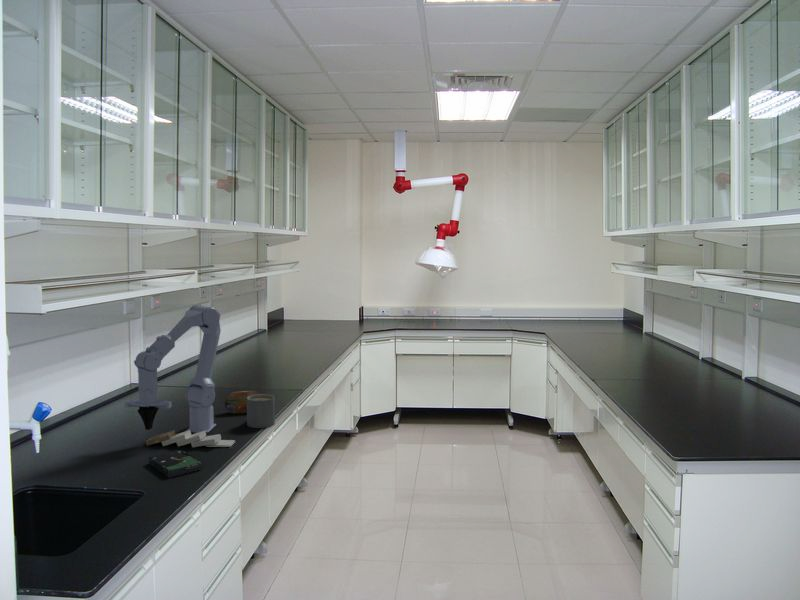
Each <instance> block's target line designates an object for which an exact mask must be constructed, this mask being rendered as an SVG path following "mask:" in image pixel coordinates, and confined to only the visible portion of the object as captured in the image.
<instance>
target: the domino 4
mask: <svg viewBox="0 0 800 600" xmlns="http://www.w3.org/2000/svg"><path fill="white" fill-rule="evenodd" d="M234 443H235V444H236V440H235V439H234V440H233V439H220V440H219V441H218V442H217V443H215V444H211V445H205V447H231V446H232V445H233V444H234ZM235 444H234V445H235ZM234 445H233V446H234ZM233 446H232V447H233ZM232 447H231V448H232Z"/></svg>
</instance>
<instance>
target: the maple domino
mask: <svg viewBox="0 0 800 600" xmlns="http://www.w3.org/2000/svg"><path fill="white" fill-rule="evenodd" d="M176 434H177V433H176V431H175V429H173V430H172V429H171V430H169V431H165V432H163V433H160V434H156V435H152V436H150V437H149V438H148V439H147V440H146V441H145V444H146V446H150V445H154V444H159V443H162V441H165V440H169V439H171V438H172V437H173V436H175V435H176Z"/></svg>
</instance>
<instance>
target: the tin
mask: <svg viewBox="0 0 800 600" xmlns="http://www.w3.org/2000/svg"><path fill="white" fill-rule="evenodd" d="M256 394H262V393H261V392H259V391H257V390H244V391H243V390H241V391H232V392H230V393H229V394H227V395H226V396H225V398H224V401H223V402H224V407H225V410H226V411H227V412H228V413H230V414H233V415H234V414H235V413H237V414H244V413H245V414H247V397H248V396H251V395H256Z"/></svg>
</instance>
